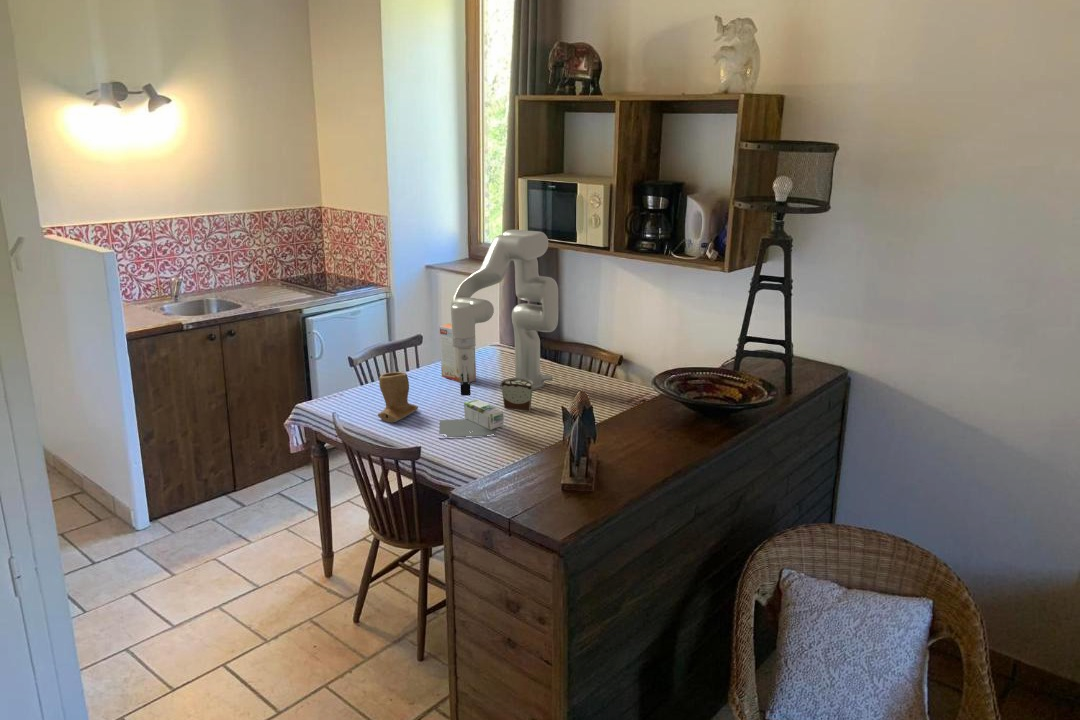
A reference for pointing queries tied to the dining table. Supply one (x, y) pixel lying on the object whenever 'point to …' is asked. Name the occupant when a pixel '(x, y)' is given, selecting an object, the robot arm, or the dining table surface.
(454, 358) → the cracker box
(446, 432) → the mat
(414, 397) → the dining table surface
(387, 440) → the dining table surface
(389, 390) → the stone cup
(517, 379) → the food container
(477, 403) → the syrup box
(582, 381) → the dining table surface
